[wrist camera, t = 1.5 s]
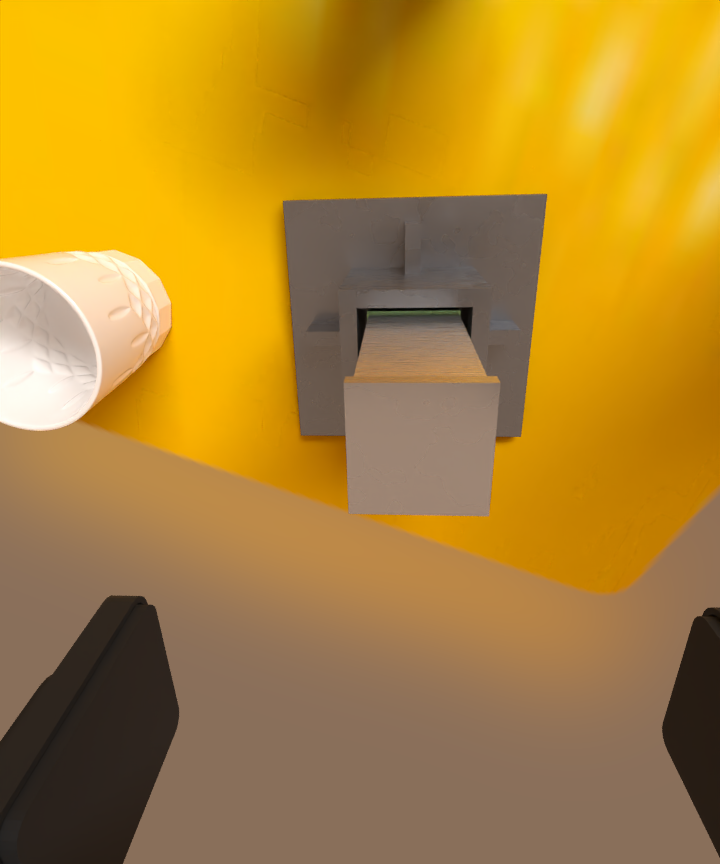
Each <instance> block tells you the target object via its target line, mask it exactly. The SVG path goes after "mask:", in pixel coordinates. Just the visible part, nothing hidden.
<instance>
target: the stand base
mask: <svg viewBox="0 0 720 864" xmlns="http://www.w3.org/2000/svg"><path fill="white" fill-rule="evenodd" d="M546 200H547V194H519V195H480V196H441V197H402V198H363V199H324V200H286V201H283V208H284V220H285V233H286V246H287V259H288V272H289V285H290V298H291V311H292V324H293V337H294V350H295V363H296V376H297V389H298V402H299V415H300V428H301V435H328V436H346V432H345V406H344V380H345V376H354V373H355V369H356V365H357V361H358V357H359V353H360V349H361V345H362V341H363V337H364V332H365V328H366V324H367V310H368V308H433V307H459V308H460V310H461V314H460V317H461V319H462V322H463V324H464V326H465V328H466V331H467V333H468V335H469V337H470V339H471V342H472V344H473V346H474V348H475V350H476V353H477V355H478V357H479V359H480V361H481V364H482V366H483V368H484V370H485V373H486V375H487V376H497V377H498V379H499V381H500V395H499V406H498V417H497V429H496V437H521V430H522V421H523V412H524V403H525V393H526V384H527V375H528V366H529V356H530V347H531V338H532V329H533V320H534V310H535V301H536V292H537V283H538V274H539V264H540V255H541V246H542V237H543V227H544V218H545V209H546Z"/></svg>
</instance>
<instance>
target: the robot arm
mask: <svg viewBox="0 0 720 864" xmlns="http://www.w3.org/2000/svg"><path fill="white" fill-rule="evenodd" d="M178 719H179V707H178V703H177V698H176V694H175V689H174V685H173V681H172V676H171V672H170V669H169V664H168V659H167V655H166V651H165V647H164V642H163V638H162V633H161V629H160V625H159V620H158V616H157V612H156V609H155V607H154V606H153V605H148V604H147V601H146V599H145V598H144V597H142V596H109V597H108V598H107V599H106V600H105V601H104V602H103V603H102V605H101V606H100V608H99V609H98V610H97V612H96V614H95V615H94V616H93V618H92V619H91V620H90V622H89V623H88V625H87V626H86V628H85V629H84V631H83V632H82V633H81V635H80V636H79V637H78V639H77V641H76V642H75V643H74V645H73V646H72V647H71V649H70V650H69V652H68V653H67V655H66V656H65V658H64V659H63V661H62V662H61V663H60V665H59V666H58V667H57V669H56V671H55V672H54V673H53V674H52V675H51V676H49V677H48V678H46V680H45V681H44V682H43V683H42V684H41V685H40V686H39V688H38V689H37V691H36V692H35V693H34V695H33V696H32V698H31V699H30V701H29V702H28V703H27V705H26V706H25V708H24V709H23V710H22V712H21V713H20V714H19V716H18V717H17V719H16V720H15V722H14V723H13V724H12V726H11V727H10V729H9V730H8V732H7V733H6V734H5V736H4V737H3V739H2V740H1V741H0V864H123V862H124V859H125V857H126V854H127V852H128V849H129V847H130V844H131V842H132V839H133V837H134V834H135V832H136V829H137V827H138V824H139V821H140V819H141V817H142V814H143V812H144V809H145V807H146V804H147V802H148V799H149V797H150V794H151V792H152V789H153V787H154V784H155V782H156V779H157V777H158V774H159V772H160V769H161V766H162V764H163V762H164V759H165V757H166V754H167V752H168V749H169V747H170V744H171V742H172V739H173V737H174V734H175V732H176V729H177V725H178ZM662 729H663V730H662V732H663V739H664V742H665V745H666V748H667V750H668V752H669V754H670V756H671V758H672V761H673V763H674V765H675V767H676V769H677V771H678V773H679V775H680V777H681V779H682V781H683V783H684V785H685V787H686V789H687V791H688V793H689V795H690V798H691V800H692V802H693V804H694V806H695V808H696V810H697V812H698V814H699V816H700V818H701V820H702V822H703V824H704V826H705V828H706V830H707V832H708V834H709V836H710V838H711V840H712V843H713V845H714V847H715V849H716V851H717V853H718V855H719V857H720V608H707V609H706V610H705V611H704V613H703V615H702V616H699V617H696V618H695V619H694V621H693V624H692V627H691V631H690V634H689V637H688V641H687V644H686V648H685V651H684V654H683V658H682V661H681V664H680V668H679V671H678V674H677V678H676V681H675V684H674V688H673V691H672V695H671V698H670V701H669V704H668V708H667V711H666V715H665V718H664V721H663V726H662Z"/></svg>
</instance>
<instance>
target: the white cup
mask: <svg viewBox="0 0 720 864" xmlns="http://www.w3.org/2000/svg"><path fill="white" fill-rule="evenodd" d="M170 329H171V302H170V299H169V297H168V295H167V293H166V291H165V289H164V286H163V284H162V282H161V280H160V278H159V277H158V276H157V275H156V274H155V273H154V272H153V271H152V270H150V269H149V268H148V267H147V266H146V265H145V264H144V263H143V262H142V261H141V260H140V259H137V258H135V257H132V256H130V255H127V254H124V253H122V252H119V251H117V250H107V251H96V252H83V251H73V252H57V253H49V254H40V255H30V256H22V257H13V258H4V259H0V422H1V423H4V424H6V425H9V426H12V427H16V428H20V429H25V430H32V431H47V430H54V429H59V428H62V427H65V426H67V425H70V424H72V423H73V422H75V421H77V420H78V419H80V418H81V417H82V416H83V415H84V414H86V413H87V412H88V411H89V410H90V409H91V408H93V407H94V406H95V405H96V404H97V403H99V402H100V401H101V400H102V399H103V398H105V397H106V396H107V395H108V394H109V393H111V392H112V391H113V390H114V389H115V388H117V387H118V386H119V385H120V384H121V383H123V382H124V381H125V380H126V379H127V378H128V377H129V376H130V375H131V374H132V373H134V372H135V371H136V370H137V369H138V368H139V367H140V366H141V365H142V364H143V363H144V362H145V361H146V359H147V358H148V357H149V356H150V355H152V354H153V353H154V352H155V351H157V350H158V349H159V348H160V347H161V346H162V344H163V342H164V340H165V338H166V336H167V335H168V333H169V331H170Z"/></svg>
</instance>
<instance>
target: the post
mask: <svg viewBox="0 0 720 864" xmlns="http://www.w3.org/2000/svg"><path fill="white" fill-rule="evenodd" d="M460 314H461V310H460V308H459V307H433V308H368V310H367V324H366V328H365V332H364V337H363V341H362V345H361V349H360V353H359V357H358V361H357V365H356V369H355V373H354V376H345V380H344V406H345V432H346V457H347V482H348V508H349V514H392V515H451V516H489V509H490V498H491V486H492V475H493V463H494V452H495V440H496V429H497V417H498V406H499V395H500V381H499V379H498V377H497V376H487V375H486V373H485V370H484V368H483V366H482V364H481V361H480V359H479V357H478V355H477V353H476V350H475V348H474V346H473V344H472V342H471V339H470V337H469V335H468V333H467V331H466V328H465V326H464V324H463V322H462V319H461V317H460Z"/></svg>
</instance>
